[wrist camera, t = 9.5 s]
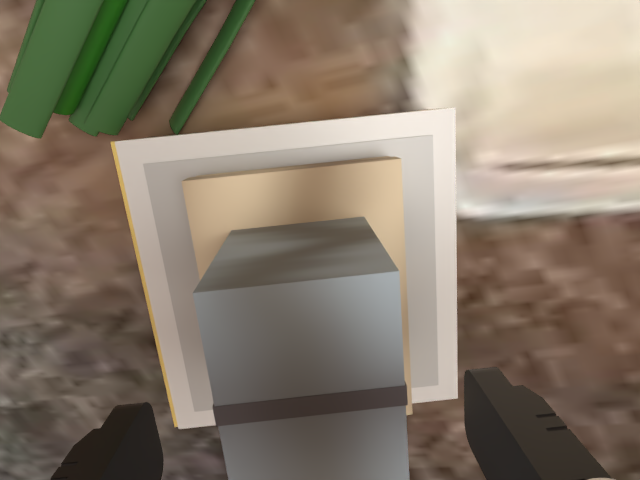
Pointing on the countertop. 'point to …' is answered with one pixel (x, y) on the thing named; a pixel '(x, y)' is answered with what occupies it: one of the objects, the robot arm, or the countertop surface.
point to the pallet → (305, 318)
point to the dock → (280, 151)
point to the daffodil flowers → (105, 61)
